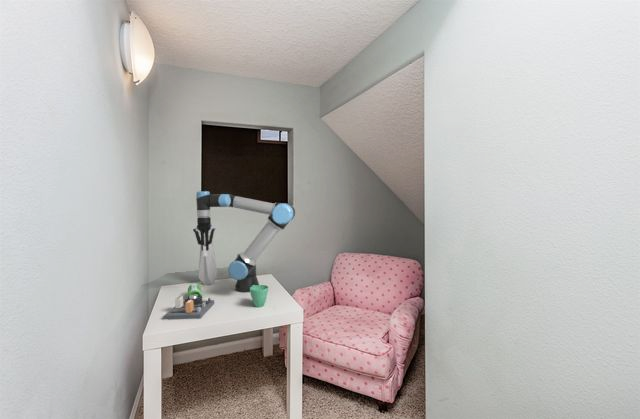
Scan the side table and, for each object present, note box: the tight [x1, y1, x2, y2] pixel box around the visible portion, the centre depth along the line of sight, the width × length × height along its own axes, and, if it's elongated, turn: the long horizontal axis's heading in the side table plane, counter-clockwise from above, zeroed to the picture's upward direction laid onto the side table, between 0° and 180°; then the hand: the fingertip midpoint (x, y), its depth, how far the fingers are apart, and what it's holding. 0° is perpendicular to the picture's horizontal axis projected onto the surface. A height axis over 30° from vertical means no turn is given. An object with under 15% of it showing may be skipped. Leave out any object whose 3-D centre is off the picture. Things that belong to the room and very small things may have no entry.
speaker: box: [187, 283, 202, 297], centre depth 182 cm, size 18×7×8 cm, turn 23°
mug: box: [249, 284, 269, 308], centre depth 170 cm, size 15×10×10 cm
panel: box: [163, 294, 215, 320], centre depth 162 cm, size 18×21×5 cm
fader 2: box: [185, 300, 194, 313], centre depth 155 cm, size 2×4×5 cm, turn 1°
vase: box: [198, 235, 218, 286], centre depth 213 cm, size 12×12×33 cm
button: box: [189, 294, 198, 299], centre depth 169 cm, size 4×4×4 cm
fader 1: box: [174, 295, 184, 308], centre depth 162 cm, size 2×4×5 cm, turn 1°
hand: (205, 255), depth 186 cm, fingers closed
